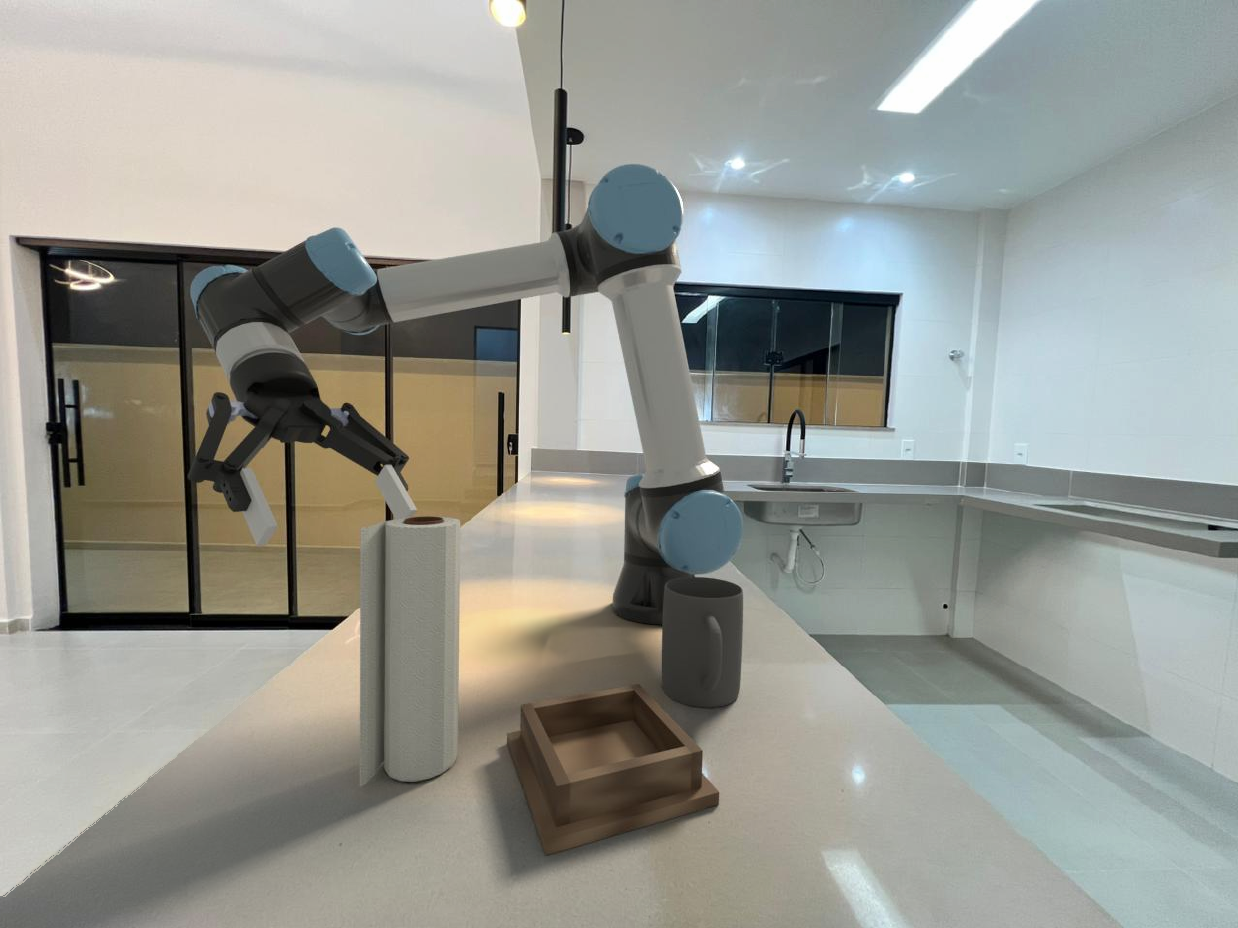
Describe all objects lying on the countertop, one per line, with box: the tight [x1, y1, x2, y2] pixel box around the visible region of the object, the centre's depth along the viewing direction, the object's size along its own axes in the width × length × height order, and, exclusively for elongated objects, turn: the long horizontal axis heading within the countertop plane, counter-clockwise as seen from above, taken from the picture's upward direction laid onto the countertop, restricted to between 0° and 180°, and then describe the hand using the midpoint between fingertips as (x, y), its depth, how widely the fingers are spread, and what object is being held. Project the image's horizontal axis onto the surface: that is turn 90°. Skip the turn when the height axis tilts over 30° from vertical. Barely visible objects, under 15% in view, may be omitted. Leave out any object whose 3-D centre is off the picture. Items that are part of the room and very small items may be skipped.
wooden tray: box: [506, 683, 720, 856], centre depth 44 cm, size 14×14×4 cm
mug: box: [660, 576, 744, 709], centre depth 57 cm, size 14×9×12 cm
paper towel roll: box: [359, 515, 462, 788], centre depth 45 cm, size 7×6×21 cm
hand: (346, 526), depth 49 cm, fingers open, 13 cm apart
